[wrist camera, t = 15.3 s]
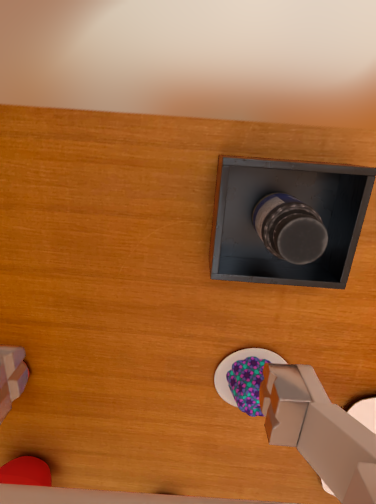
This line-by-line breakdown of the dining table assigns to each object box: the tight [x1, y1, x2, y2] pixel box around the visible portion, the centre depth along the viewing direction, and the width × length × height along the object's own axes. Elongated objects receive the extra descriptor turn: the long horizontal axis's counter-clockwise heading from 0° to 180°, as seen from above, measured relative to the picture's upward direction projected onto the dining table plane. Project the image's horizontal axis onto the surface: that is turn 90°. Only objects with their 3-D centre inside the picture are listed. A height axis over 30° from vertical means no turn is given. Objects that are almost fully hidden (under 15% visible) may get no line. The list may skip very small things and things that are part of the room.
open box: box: [209, 155, 376, 289], centre depth 36 cm, size 14×16×7 cm
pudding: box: [214, 348, 287, 417], centre depth 45 cm, size 12×12×5 cm
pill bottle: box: [252, 192, 328, 265], centre depth 33 cm, size 6×6×11 cm
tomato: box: [0, 456, 52, 487], centre depth 50 cm, size 11×11×13 cm
